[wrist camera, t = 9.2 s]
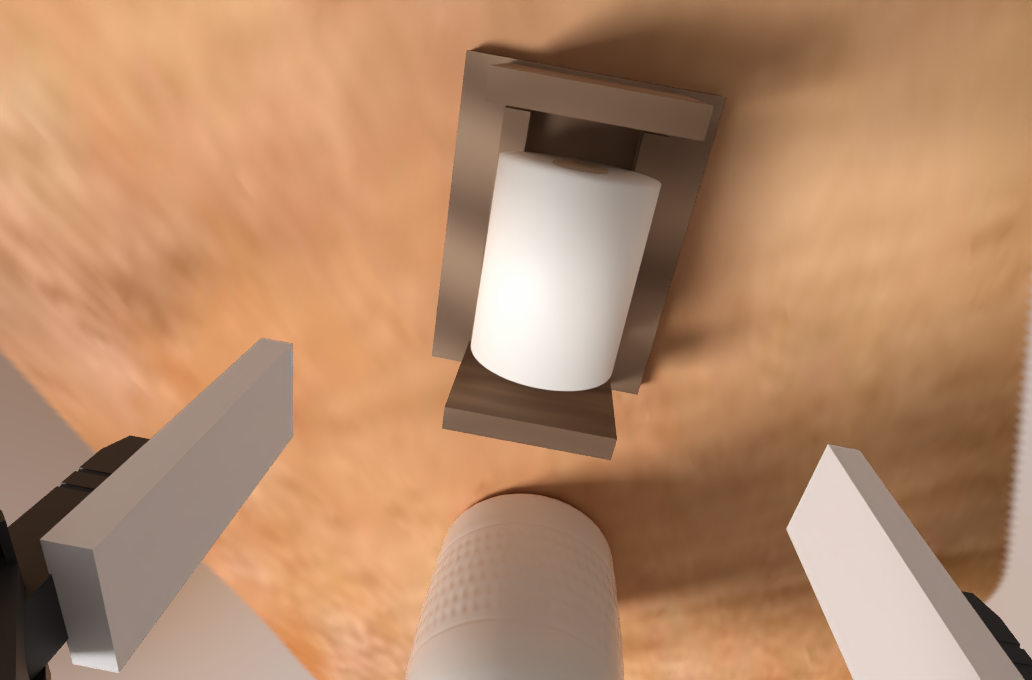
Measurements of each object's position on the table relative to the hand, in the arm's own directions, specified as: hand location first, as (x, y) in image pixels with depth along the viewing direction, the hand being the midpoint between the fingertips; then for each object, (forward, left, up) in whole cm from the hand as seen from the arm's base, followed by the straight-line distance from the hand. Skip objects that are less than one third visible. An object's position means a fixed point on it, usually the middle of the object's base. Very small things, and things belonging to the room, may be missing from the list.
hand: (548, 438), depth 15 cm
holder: (0, 0, -19) cm, 19 cm away
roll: (0, 0, -17) cm, 17 cm away
